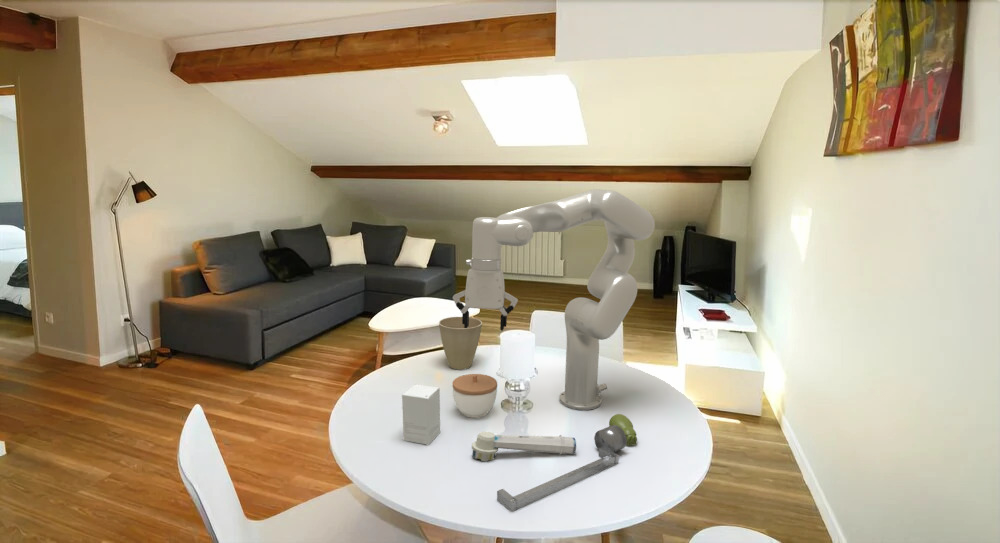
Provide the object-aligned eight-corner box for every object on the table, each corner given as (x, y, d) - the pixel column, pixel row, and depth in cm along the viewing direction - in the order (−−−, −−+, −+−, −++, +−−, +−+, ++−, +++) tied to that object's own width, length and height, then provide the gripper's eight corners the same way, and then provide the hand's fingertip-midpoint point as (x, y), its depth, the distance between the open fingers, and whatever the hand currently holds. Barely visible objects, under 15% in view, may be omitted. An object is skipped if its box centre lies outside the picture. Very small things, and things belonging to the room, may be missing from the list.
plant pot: (464, 377, 179) (464, 331, 176) (430, 367, 187) (429, 323, 184) (490, 364, 191) (490, 320, 188) (456, 355, 199) (456, 314, 196)
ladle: (607, 443, 137) (608, 421, 136) (632, 456, 131) (633, 433, 130) (488, 492, 116) (489, 467, 114) (511, 511, 109) (512, 485, 108)
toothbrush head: (578, 443, 130) (475, 434, 126) (573, 468, 131) (471, 460, 127) (572, 432, 135) (473, 424, 131) (568, 457, 136) (470, 449, 132)
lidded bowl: (476, 398, 162) (476, 364, 160) (506, 412, 153) (506, 376, 151) (443, 411, 154) (443, 375, 151) (472, 426, 145) (473, 388, 143)
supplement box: (441, 432, 142) (440, 387, 139) (428, 445, 135) (427, 398, 132) (416, 427, 144) (415, 383, 142) (402, 440, 137) (401, 394, 135)
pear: (625, 409, 144) (644, 432, 135) (623, 425, 146) (641, 449, 137) (606, 411, 143) (624, 434, 134) (604, 428, 144) (621, 452, 135)
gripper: (450, 265, 138) (449, 329, 141) (518, 269, 136) (515, 334, 139) (456, 260, 145) (455, 322, 148) (520, 264, 143) (517, 326, 147)
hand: (484, 328), depth 144 cm, fingers open, 9 cm apart
